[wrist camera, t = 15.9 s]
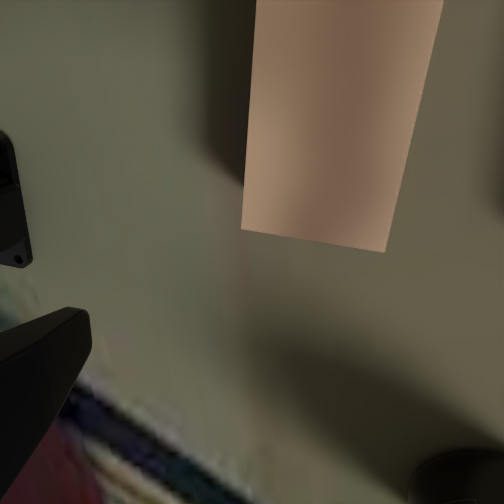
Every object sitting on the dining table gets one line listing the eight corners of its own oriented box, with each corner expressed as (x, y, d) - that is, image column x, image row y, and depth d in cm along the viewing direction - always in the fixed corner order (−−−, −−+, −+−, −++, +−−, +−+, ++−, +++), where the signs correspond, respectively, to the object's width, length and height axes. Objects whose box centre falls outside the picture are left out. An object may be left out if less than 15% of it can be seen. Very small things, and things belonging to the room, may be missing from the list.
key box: (259, 200, 19) (212, 272, 13) (300, -284, 12) (243, -543, 7) (382, 219, 18) (388, 305, 12) (496, -291, 11) (617, -594, 6)
